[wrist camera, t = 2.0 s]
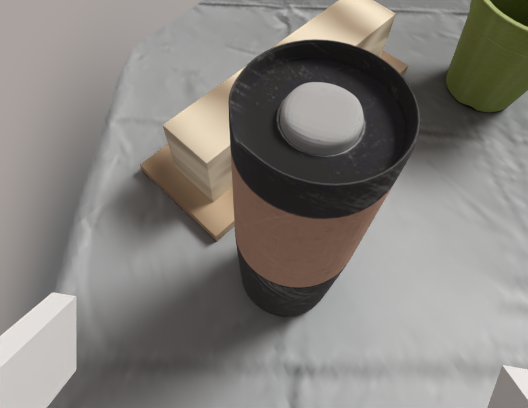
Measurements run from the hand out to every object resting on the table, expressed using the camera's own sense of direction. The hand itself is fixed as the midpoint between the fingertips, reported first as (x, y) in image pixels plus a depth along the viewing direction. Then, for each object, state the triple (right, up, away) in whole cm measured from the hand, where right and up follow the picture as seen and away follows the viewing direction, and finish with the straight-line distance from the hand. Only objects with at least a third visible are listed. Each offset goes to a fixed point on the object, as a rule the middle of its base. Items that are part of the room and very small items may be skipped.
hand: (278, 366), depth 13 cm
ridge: (+2, +14, +28) cm, 32 cm away
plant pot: (+23, +17, +31) cm, 42 cm away
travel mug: (+1, -1, +21) cm, 21 cm away
